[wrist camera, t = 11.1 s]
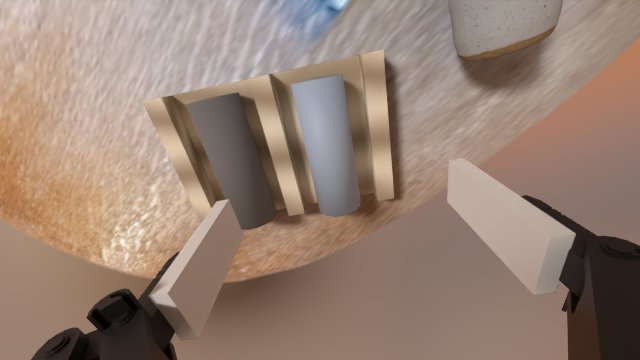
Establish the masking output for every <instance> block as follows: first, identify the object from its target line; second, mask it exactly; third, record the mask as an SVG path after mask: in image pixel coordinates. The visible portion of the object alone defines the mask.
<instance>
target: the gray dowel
mask: <svg viewBox="0 0 640 360" xmlns="http://www.w3.org/2000/svg"><path fill="white" fill-rule="evenodd" d="M291 88H292V93H293V97H294V101H295V106H296V110H297V114H298V119H299V123H300V127H301V132H302V136H303V140H304V145H305V149H306V154H307V158H308V162H309V167H310V171H311V175H312V180H313V184H314V188H315V193H316V197H317V201H318V206H319V210H320V211H321V213H323V214H325V215H327V216H334V217H337V216H344V215H348V214H350V213H352V212H354V211H356V210H357V209H358V208H359V207H360V205H361V199H360V192H359V185H358V178H357V171H356V164H355V157H354V150H353V143H352V136H351V129H350V122H349V115H348V107H347V100H346V93H345V86H344V79H343V74H335V75H329V76H324V77H319V78H314V79H310V80H306V81H301V82H297V83H294V84H291Z"/></svg>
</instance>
